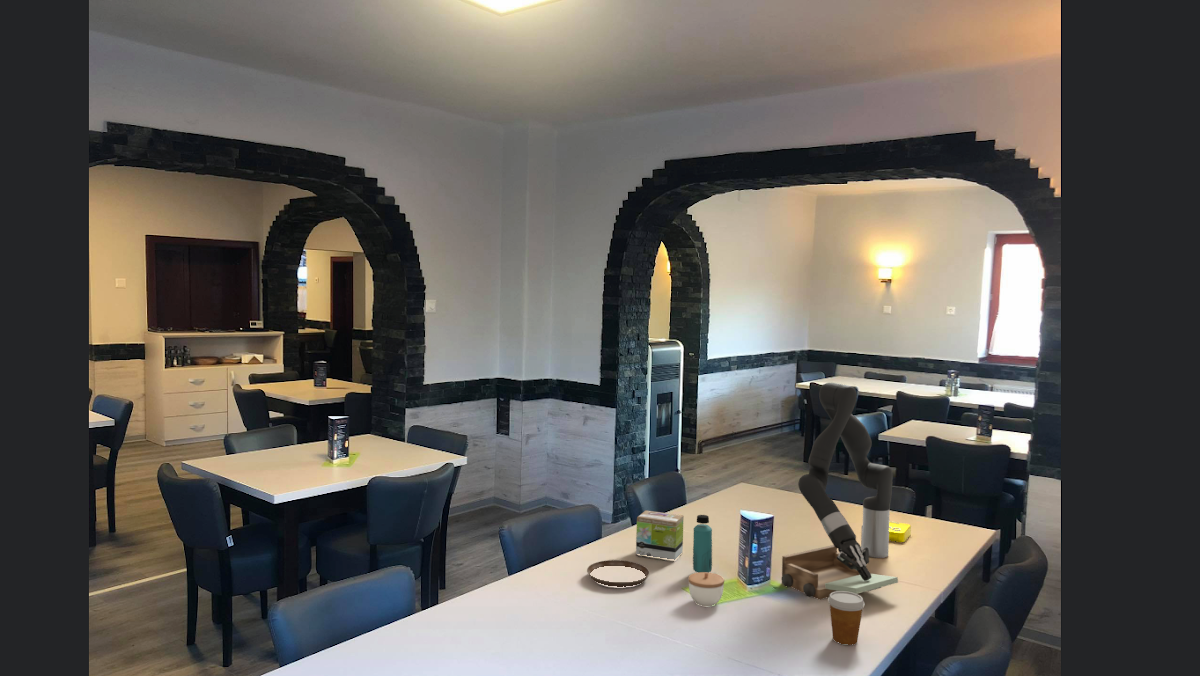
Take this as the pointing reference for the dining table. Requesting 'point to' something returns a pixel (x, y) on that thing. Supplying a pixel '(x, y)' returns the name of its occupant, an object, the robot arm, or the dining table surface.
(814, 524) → the dining table surface
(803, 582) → the drawer box
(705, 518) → the beverage bottle
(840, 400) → the robot arm
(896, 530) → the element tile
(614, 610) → the dining table surface
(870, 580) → the panel
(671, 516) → the tea box
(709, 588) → the lidded jar
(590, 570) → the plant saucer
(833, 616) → the disposable coffee cup
